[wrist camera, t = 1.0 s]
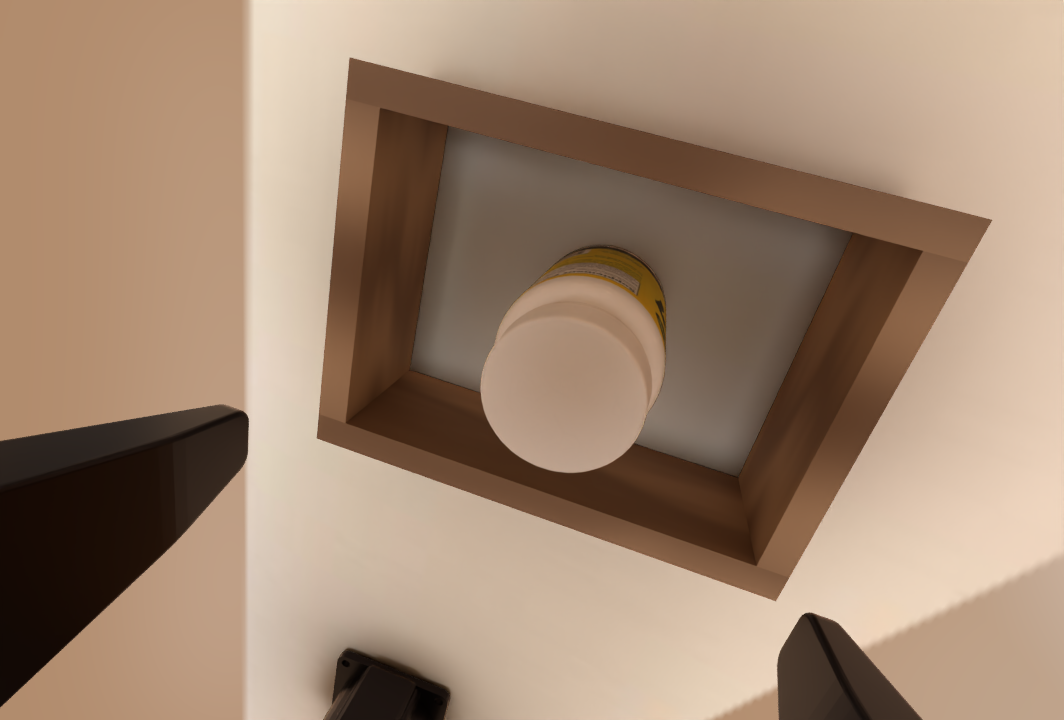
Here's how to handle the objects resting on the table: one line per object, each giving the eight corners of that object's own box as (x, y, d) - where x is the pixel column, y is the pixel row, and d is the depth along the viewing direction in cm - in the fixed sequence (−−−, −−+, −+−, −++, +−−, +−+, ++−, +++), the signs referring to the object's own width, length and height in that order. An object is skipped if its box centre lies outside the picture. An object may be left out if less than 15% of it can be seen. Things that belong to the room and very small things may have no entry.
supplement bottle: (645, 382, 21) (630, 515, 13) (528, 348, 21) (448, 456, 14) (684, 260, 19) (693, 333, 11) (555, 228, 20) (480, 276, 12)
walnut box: (754, 506, 22) (775, 600, 17) (385, 383, 24) (316, 438, 19) (904, 202, 17) (992, 219, 12) (427, 80, 19) (349, 57, 14)
